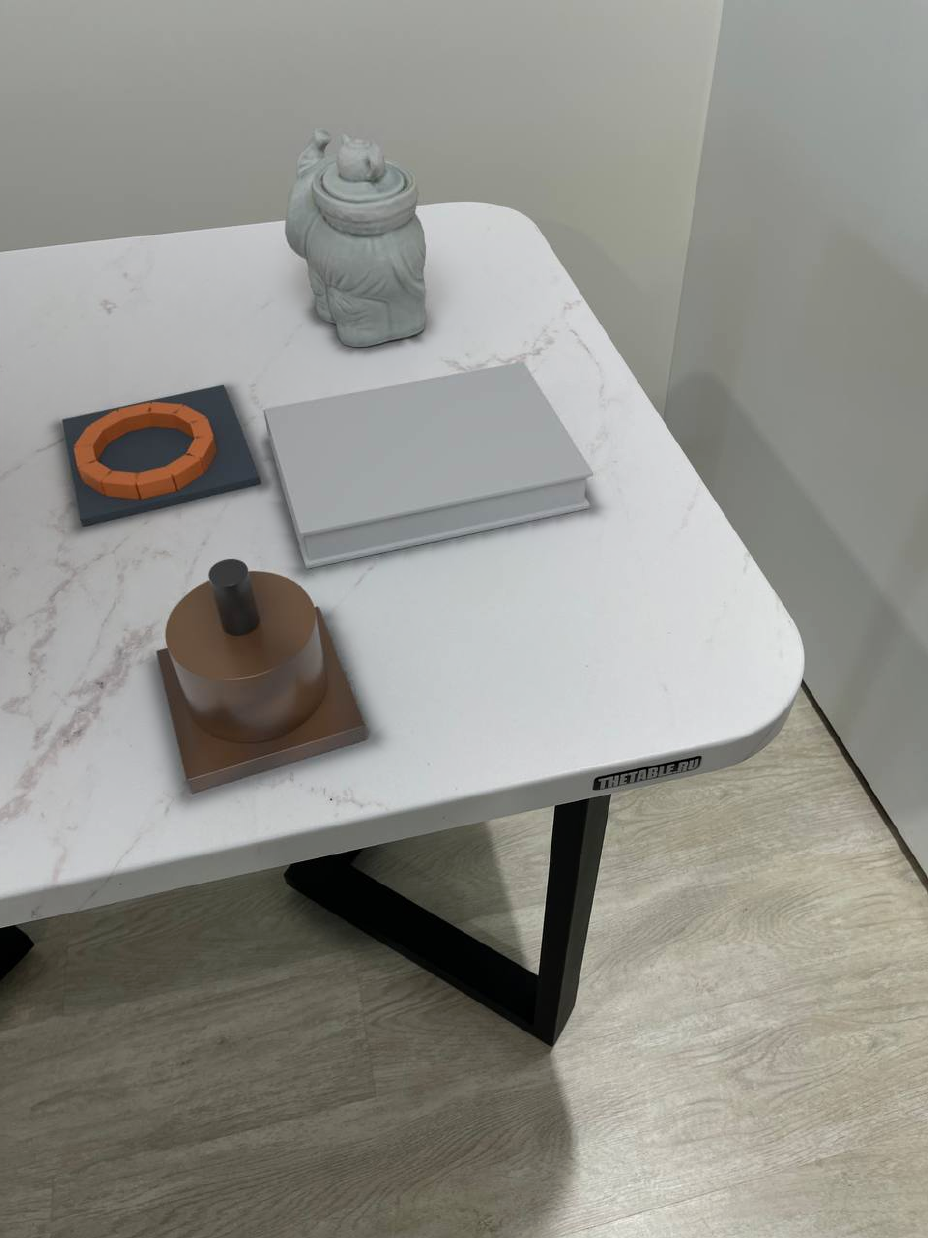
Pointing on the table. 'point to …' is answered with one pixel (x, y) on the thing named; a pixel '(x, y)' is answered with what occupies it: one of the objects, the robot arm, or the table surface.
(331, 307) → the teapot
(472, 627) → the table surface
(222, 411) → the mat
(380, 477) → the book
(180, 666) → the ring stand
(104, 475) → the ring
